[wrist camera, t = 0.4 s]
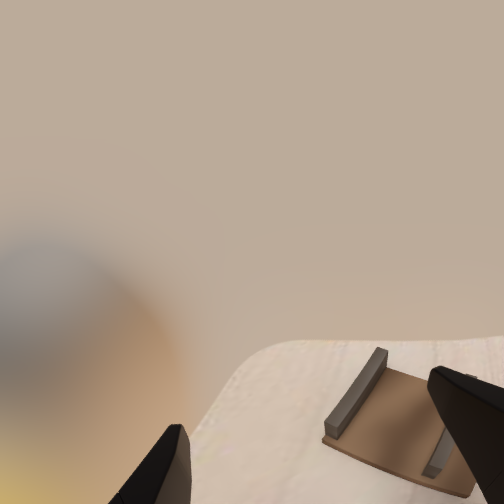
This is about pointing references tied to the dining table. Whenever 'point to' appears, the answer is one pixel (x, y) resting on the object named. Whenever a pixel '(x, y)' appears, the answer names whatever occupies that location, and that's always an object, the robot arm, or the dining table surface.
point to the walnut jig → (397, 429)
